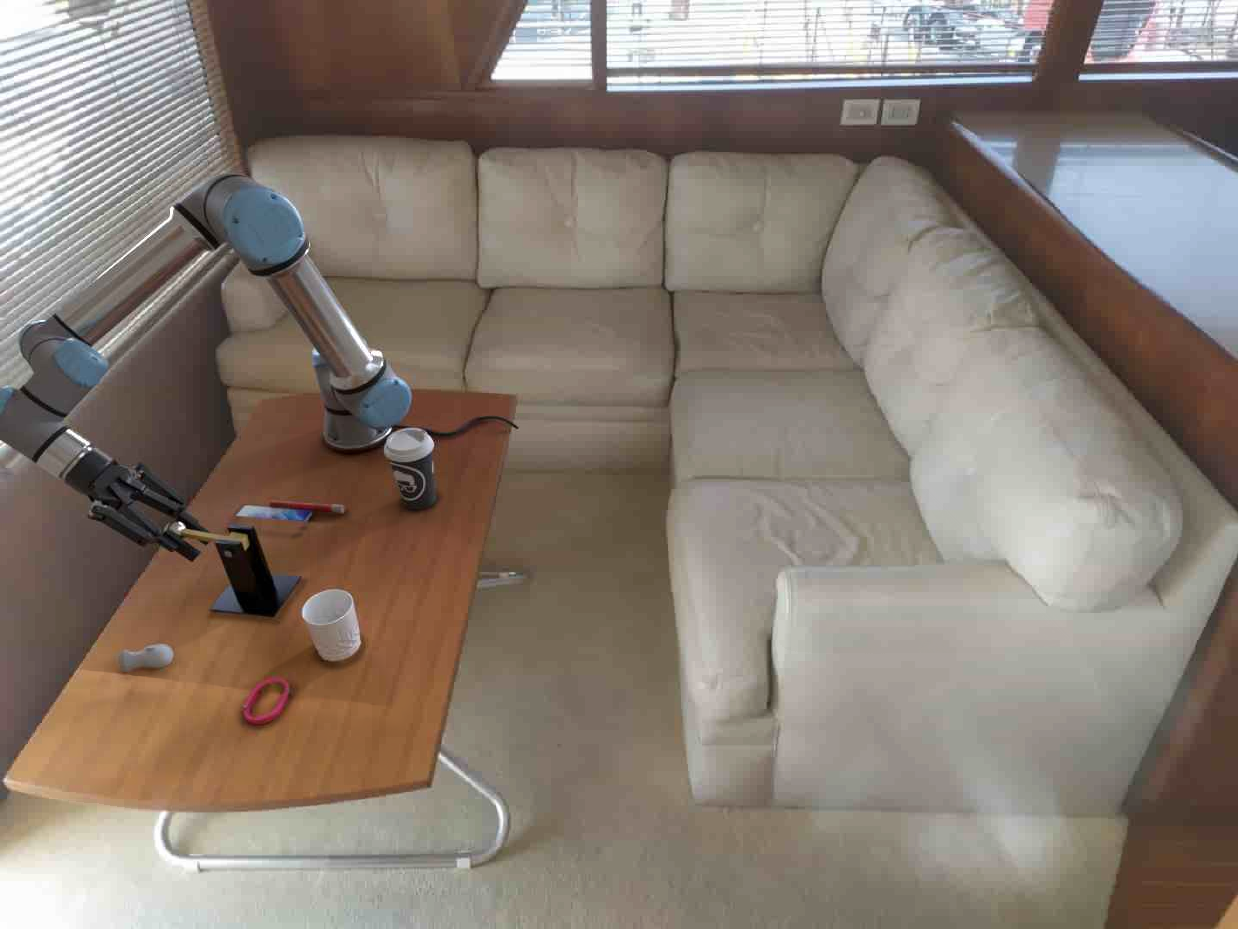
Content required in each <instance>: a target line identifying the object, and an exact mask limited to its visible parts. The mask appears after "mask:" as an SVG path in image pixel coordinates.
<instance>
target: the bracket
mask: <svg viewBox="0 0 1238 929" xmlns="http://www.w3.org/2000/svg"><path fill="white" fill-rule="evenodd" d="M226 528H227V531H228V533H229V534H230V533H231V532H236V533H241V534H247V536H248V540H249V544H250V545H249V546H248V548H247V549H246V550H245V549H244V546H243V544H242V541H232V540H221V539H217V540H216V542H215V543H214V546H215V548H216V550H217V553H218V556H219V558H220V560H221V561H220V562H221V563H222V566H223V569H224V571H225V573H226V576H227V578H228V581H229V584H228V585H227V587H225V589H224V590H223V592H222V593H221V594H220V596H219V597H218V598H217V600H216V601H215V602H214V604H212V606H211V607H210V608H209V611H211V612H220V613H221V612H222V613H231V614H240V615H250V616H258V617H259V616H260V617H269V618H275V617H276V616H277V615H278V613H279V611H280V610H281V608H282V607H283V605H284V604H285V602H286V601H287V600H288V598H289V597H290V595H291V594H292V592H293V591H294V590H295V588H296V586H297V585H298V583H299V582H300V580H301V579H302V576H300V575H290V574H280V573H271V569H270V567H269V564H268V562H267V559H266V556H265V553H264V550H263V548H262V545H261V542H260V539H259V537H258V534H257V530H256V528H255V525H245V524H244V525H243V524H234V523H229V525H228V526H227V527H226Z"/></svg>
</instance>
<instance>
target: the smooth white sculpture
mask: <svg viewBox="0 0 1238 929" xmlns="http://www.w3.org/2000/svg"><path fill="white" fill-rule="evenodd" d="M174 656H175V654H174V651H173V649H172V648H171V646H170V645H168V644H166V643H157V644H150V645H148V646H145V647H143V648H142V649H140V650H139V651H130V650H129V649H126V648H125V649H123V650H122V651H120V652H119V653H118V662H119V667H120V670H121V672H123V673H127V674H129V673H131V672H132V671H135V670H138V669H147V668H148V669H154V670H155V669H156V670H157V669H163V668H166V667H167V666H169V665H170V664H171V663H172V661H173V659H174Z"/></svg>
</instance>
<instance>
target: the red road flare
mask: <svg viewBox="0 0 1238 929" xmlns="http://www.w3.org/2000/svg"><path fill="white" fill-rule="evenodd" d="M269 507H271V508H284V509H285V508H286V509H300V510H311V511H312V512H317V513H318V512H319V513H332V514H344V512H345V505H344V504H335V503H334V504H330V503H315V502H302V501H301V502H300V501H285V500H273V499H272V500H270V501H269Z"/></svg>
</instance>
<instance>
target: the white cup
mask: <svg viewBox="0 0 1238 929" xmlns="http://www.w3.org/2000/svg"><path fill="white" fill-rule="evenodd" d="M301 617H302V620H303V622H304V624H305V626H306V629H307V632H308V634H309V636H310V639H311V641H312V644H313V645H314V648H315V649H316V651H317V654H318V655H319V656H320V657H321V658H322V659H323V660H324V661H329V662H340V661H343V660H346V659H348V658H350V657H352V656H353V655H354V654H355V653H356V652H357V651H358V650H359V648H360V646H361V644H362V640H361V634H360V633H361V632H360V628H359V627H360V624H359V621H358V616H357V612H356V608H355V603H354V599H353V597H352V595H351V593H349V592H348V591H345V590H343V589H333V588H332V589H326V590H323V591H320V592H318V593H316V594H314V595H312V596H311V597H310V598H308V599H307V600H306V602H305V603H304V604H303V606H302V608H301Z"/></svg>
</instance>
